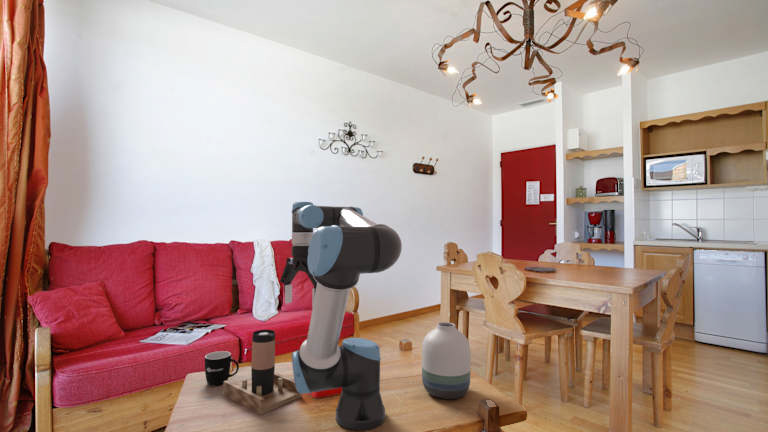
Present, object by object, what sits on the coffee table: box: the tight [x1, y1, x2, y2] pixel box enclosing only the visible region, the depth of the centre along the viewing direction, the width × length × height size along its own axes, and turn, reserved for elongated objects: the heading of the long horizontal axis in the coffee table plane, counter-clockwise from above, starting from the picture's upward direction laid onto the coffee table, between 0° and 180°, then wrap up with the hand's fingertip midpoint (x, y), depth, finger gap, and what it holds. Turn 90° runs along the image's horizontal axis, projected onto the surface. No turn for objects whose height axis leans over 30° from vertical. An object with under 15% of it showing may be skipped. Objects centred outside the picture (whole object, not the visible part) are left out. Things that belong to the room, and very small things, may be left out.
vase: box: [421, 321, 471, 400], centre depth 134 cm, size 17×17×24 cm
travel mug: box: [250, 329, 276, 395], centre depth 130 cm, size 8×8×20 cm
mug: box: [204, 350, 240, 387], centre depth 140 cm, size 12×9×10 cm
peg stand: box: [222, 371, 303, 416], centre depth 129 cm, size 22×16×6 cm
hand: (301, 304), depth 134 cm, fingers open, 13 cm apart
